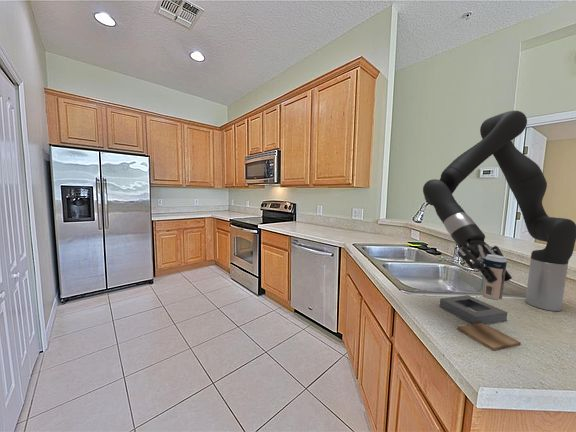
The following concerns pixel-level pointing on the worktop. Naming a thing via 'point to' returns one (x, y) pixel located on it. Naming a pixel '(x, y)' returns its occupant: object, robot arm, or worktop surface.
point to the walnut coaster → (488, 336)
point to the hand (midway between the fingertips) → (500, 280)
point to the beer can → (499, 269)
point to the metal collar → (481, 315)
